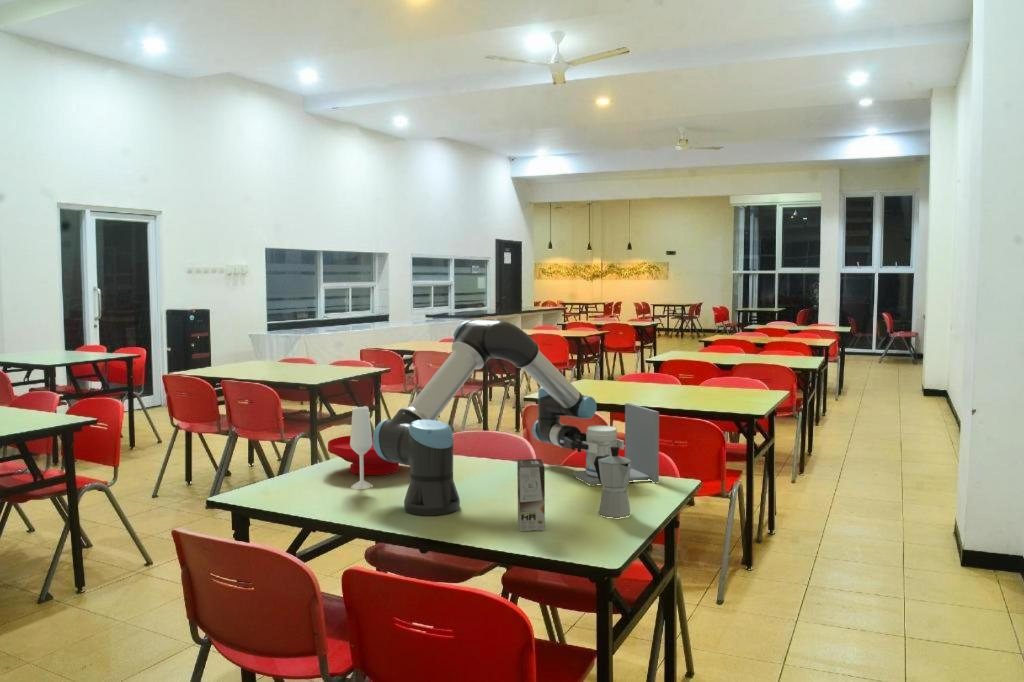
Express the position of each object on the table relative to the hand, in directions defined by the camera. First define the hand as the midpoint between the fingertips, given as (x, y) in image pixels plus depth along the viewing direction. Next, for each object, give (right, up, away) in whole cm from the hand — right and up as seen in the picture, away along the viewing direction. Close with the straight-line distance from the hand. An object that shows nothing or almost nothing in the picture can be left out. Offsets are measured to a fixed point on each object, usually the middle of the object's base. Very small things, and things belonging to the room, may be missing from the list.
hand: (609, 446), depth 239 cm
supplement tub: (-2, -9, +4) cm, 11 cm away
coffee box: (-25, -14, -44) cm, 53 cm away
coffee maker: (-4, -13, -34) cm, 36 cm away
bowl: (-76, -11, +19) cm, 79 cm away
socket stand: (+2, -11, +5) cm, 12 cm away
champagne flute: (-76, -12, -3) cm, 77 cm away
